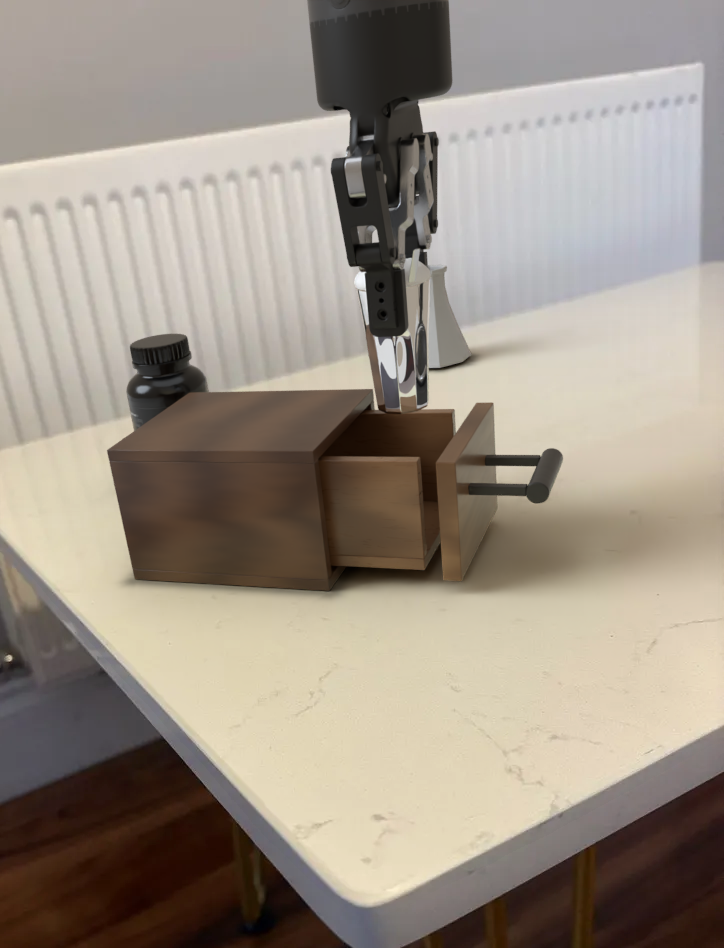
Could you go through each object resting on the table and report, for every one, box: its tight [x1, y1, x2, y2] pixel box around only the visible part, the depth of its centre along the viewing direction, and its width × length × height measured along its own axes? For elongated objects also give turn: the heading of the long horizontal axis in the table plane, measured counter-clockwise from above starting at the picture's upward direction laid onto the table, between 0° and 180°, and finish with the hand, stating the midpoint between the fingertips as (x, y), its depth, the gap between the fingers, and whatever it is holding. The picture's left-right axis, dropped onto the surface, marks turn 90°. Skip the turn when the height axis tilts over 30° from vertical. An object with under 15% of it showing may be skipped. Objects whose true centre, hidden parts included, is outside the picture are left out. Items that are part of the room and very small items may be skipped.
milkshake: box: [353, 248, 431, 414], centre depth 63 cm, size 4×5×10 cm
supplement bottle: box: [126, 333, 210, 432], centre depth 87 cm, size 7×7×12 cm
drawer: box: [318, 402, 564, 582], centre depth 68 cm, size 18×11×8 cm, turn 68°
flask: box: [428, 264, 472, 369], centre depth 110 cm, size 7×7×10 cm
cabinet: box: [106, 388, 376, 592], centre depth 72 cm, size 15×13×10 cm
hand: (401, 322), depth 63 cm, fingers closed on milkshake, 4 cm apart
